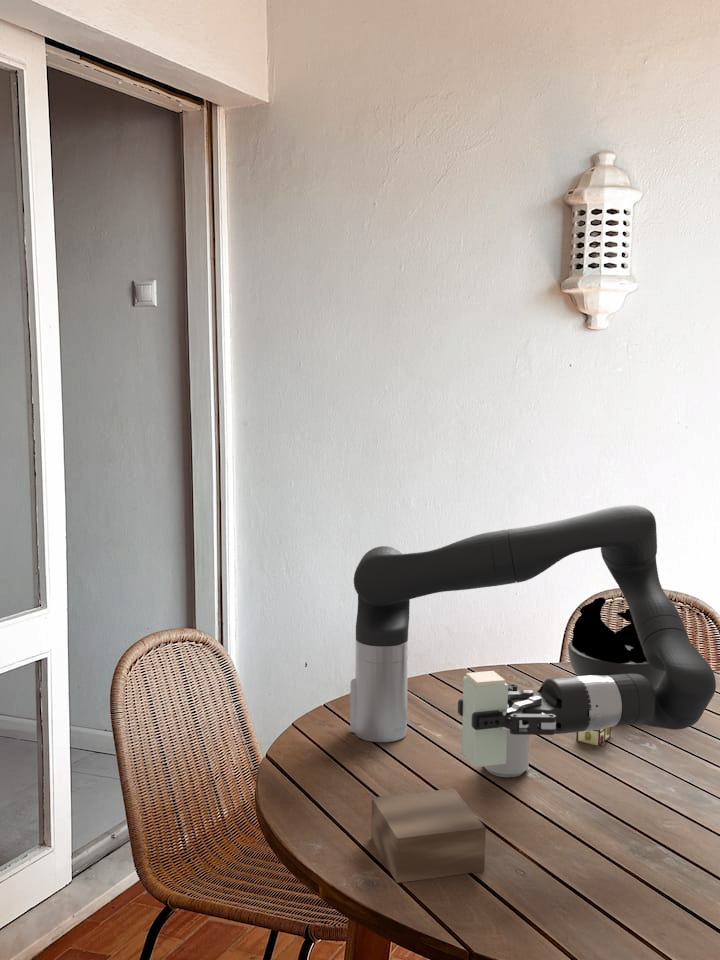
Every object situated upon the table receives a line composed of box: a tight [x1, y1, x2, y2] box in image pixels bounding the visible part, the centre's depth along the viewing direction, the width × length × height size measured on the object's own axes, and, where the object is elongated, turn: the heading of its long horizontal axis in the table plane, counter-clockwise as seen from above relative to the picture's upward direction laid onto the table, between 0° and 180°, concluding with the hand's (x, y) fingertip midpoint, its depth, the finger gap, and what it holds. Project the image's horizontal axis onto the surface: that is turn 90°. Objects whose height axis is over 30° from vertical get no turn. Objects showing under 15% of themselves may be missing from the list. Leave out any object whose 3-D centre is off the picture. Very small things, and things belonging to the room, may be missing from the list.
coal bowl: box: [567, 596, 665, 689], centre depth 194 cm, size 20×20×19 cm
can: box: [483, 704, 531, 778], centre depth 160 cm, size 8×8×12 cm
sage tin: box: [461, 670, 509, 768], centre depth 134 cm, size 5×5×12 cm
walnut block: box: [370, 788, 487, 884], centre depth 133 cm, size 12×12×6 cm
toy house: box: [576, 727, 612, 748], centre depth 174 cm, size 6×7×8 cm
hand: (466, 714), depth 133 cm, fingers closed on sage tin, 4 cm apart
